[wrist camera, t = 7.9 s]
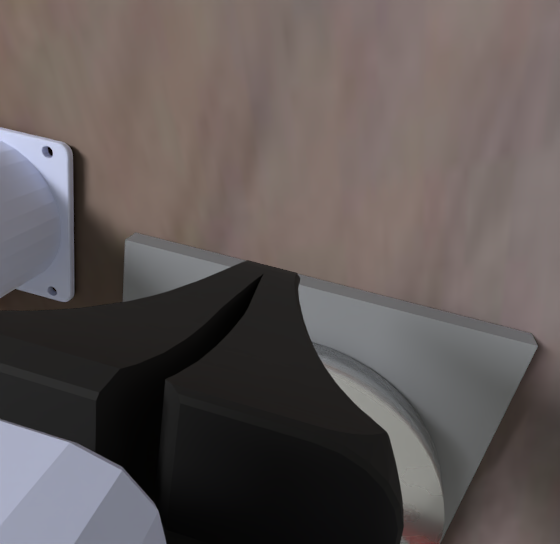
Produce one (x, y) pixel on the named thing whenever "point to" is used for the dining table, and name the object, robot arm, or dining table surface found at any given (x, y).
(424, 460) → the round dial
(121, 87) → the dining table surface
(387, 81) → the dining table surface
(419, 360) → the slate base plate
